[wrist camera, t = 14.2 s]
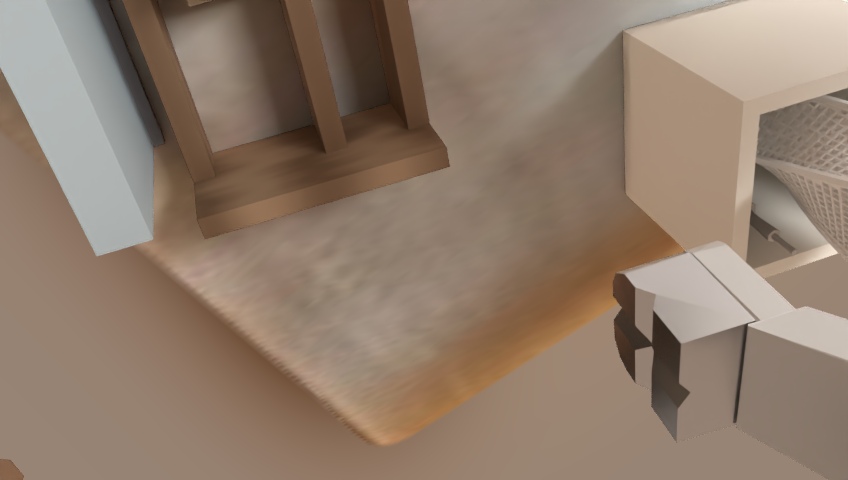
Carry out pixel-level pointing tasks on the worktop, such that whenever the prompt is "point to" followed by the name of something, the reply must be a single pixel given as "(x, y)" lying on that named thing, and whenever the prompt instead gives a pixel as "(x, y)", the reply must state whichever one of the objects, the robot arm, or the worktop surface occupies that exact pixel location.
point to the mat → (129, 71)
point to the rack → (307, 147)
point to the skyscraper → (809, 165)
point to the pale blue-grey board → (81, 116)
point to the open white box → (727, 119)
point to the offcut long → (196, 2)
